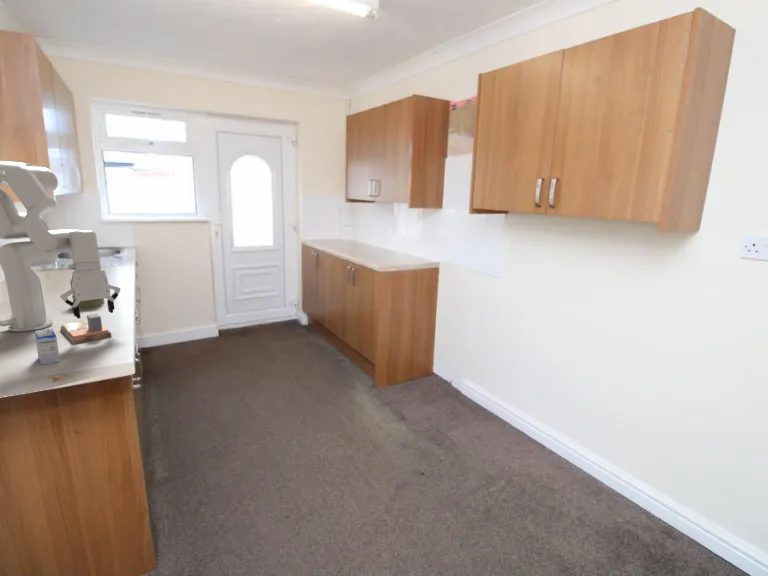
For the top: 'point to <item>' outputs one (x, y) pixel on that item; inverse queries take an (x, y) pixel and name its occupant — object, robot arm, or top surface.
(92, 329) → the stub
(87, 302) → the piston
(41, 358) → the medicine box
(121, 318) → the top surface
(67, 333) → the board
